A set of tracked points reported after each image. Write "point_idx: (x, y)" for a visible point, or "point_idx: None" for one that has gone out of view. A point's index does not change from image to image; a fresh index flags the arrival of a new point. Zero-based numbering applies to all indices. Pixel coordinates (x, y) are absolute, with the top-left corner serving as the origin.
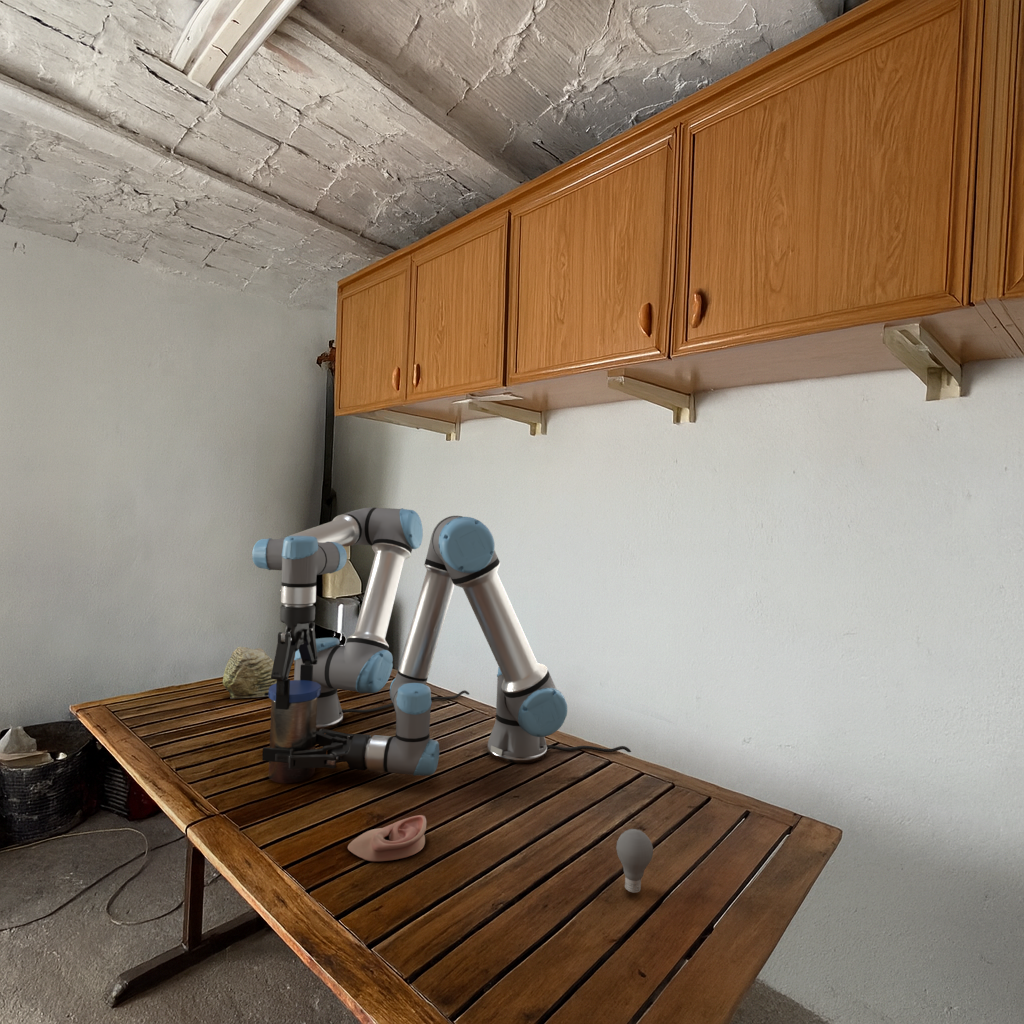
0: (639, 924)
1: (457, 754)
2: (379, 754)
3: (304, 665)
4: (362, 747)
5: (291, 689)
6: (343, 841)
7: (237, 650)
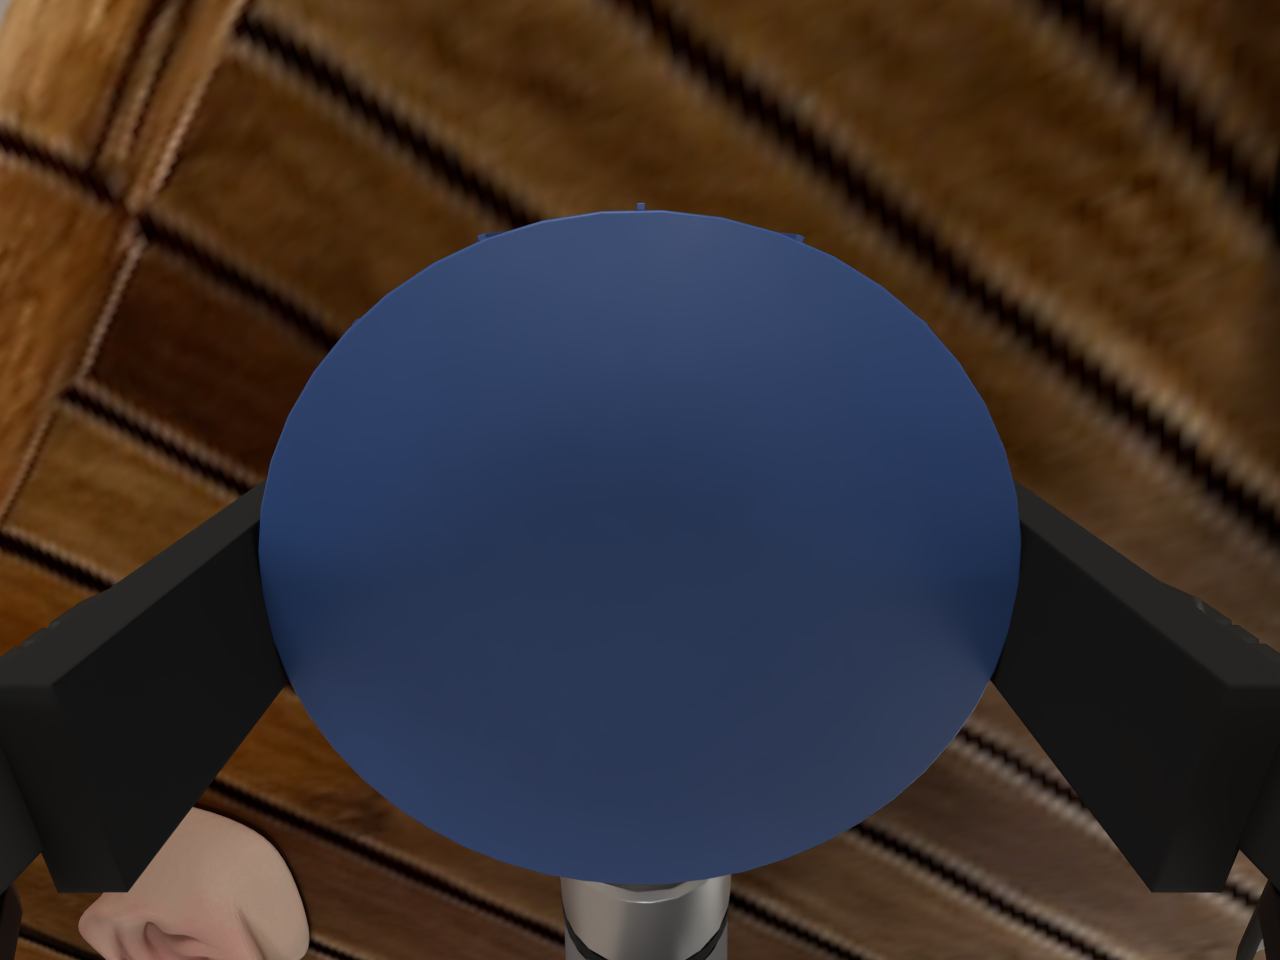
0: None
1: (956, 937)
2: (563, 894)
3: (1206, 760)
4: None
5: (514, 614)
6: None
7: None
